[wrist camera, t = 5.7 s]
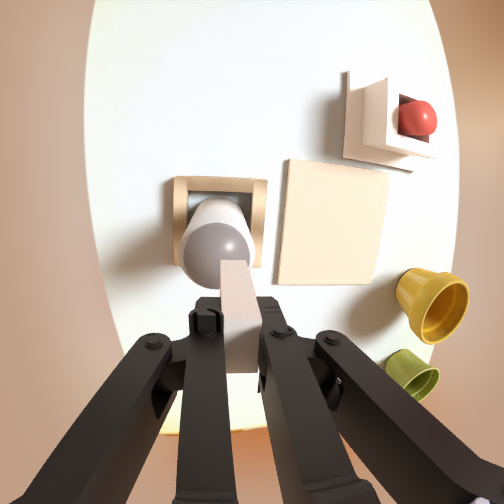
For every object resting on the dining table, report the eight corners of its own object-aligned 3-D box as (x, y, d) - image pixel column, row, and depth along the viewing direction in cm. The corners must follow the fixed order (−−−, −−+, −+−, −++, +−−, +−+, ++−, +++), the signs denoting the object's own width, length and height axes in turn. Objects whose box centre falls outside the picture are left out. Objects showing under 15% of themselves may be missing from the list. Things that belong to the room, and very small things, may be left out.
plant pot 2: (397, 336, 44) (422, 365, 36) (424, 345, 47) (448, 371, 38) (368, 375, 47) (387, 406, 38) (397, 381, 49) (417, 408, 41)
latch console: (347, 71, 30) (372, 57, 23) (417, 94, 31) (448, 88, 25) (342, 157, 34) (369, 159, 27) (414, 171, 35) (445, 176, 28)
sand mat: (288, 158, 33) (290, 158, 32) (386, 172, 35) (389, 173, 34) (277, 281, 38) (278, 284, 37) (368, 281, 40) (371, 283, 39)
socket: (176, 175, 32) (174, 176, 30) (264, 179, 33) (267, 180, 32) (176, 259, 35) (173, 265, 34) (258, 262, 37) (260, 267, 35)
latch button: (388, 101, 28) (412, 95, 23) (413, 109, 28) (437, 106, 24) (387, 131, 29) (411, 130, 24) (412, 138, 30) (437, 138, 25)
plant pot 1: (440, 285, 42) (474, 310, 33) (399, 324, 43) (429, 356, 34) (422, 243, 39) (463, 265, 30) (376, 286, 40) (410, 318, 31)
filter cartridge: (194, 194, 33) (176, 217, 20) (244, 196, 34) (259, 220, 21) (193, 243, 35) (177, 293, 22) (242, 244, 36) (254, 295, 22)
